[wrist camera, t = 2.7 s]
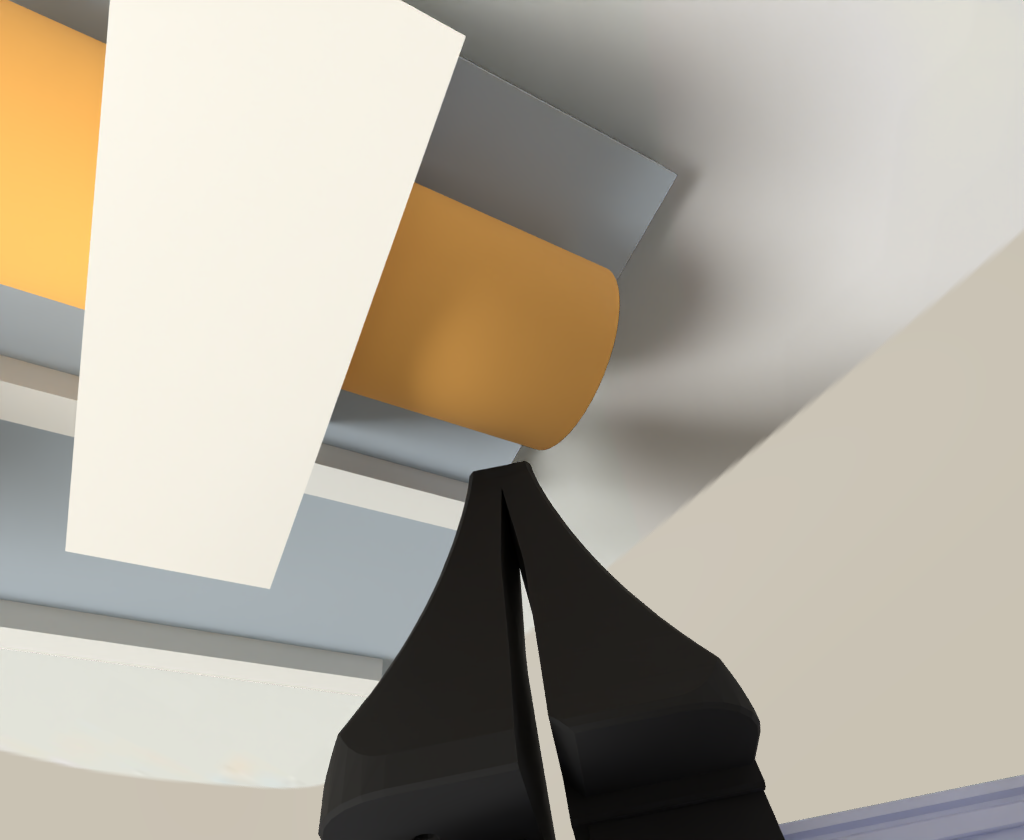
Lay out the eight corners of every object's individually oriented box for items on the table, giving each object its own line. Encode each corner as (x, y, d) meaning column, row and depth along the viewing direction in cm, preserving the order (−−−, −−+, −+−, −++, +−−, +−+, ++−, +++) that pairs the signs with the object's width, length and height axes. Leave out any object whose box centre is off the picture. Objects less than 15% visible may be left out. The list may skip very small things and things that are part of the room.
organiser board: (658, 162, 12) (692, 184, 11) (381, 661, 21) (377, 713, 20) (-500, -462, 7) (-791, -614, 5) (-215, 568, 16) (-290, 631, 14)
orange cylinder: (581, 247, 12) (647, 299, 9) (509, 397, 14) (543, 488, 10) (-39, -35, 9) (-306, -119, 5) (-50, 209, 10) (-265, 258, 7)
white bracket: (450, 30, 10) (466, 36, 6) (316, 423, 14) (269, 589, 10) (264, -73, 9) (122, -154, 5) (179, 384, 13) (64, 551, 9)
